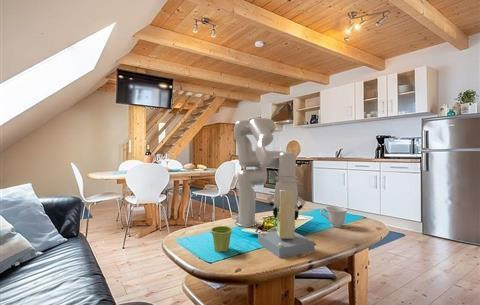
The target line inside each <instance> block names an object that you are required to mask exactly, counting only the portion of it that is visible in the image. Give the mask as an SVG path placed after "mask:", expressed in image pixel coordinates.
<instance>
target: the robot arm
mask: <svg viewBox="0 0 480 305" xmlns="http://www.w3.org/2000/svg"><path fill="white" fill-rule="evenodd" d="M276 128H277V127H276V123H275V121H274V120H273V119H272V118H266V117H265V118H264V117H263V118H262V117H254V118H252V119H241V120H237V121H236V122H235V124H234V127H233V135H234V139H235V141H236V146H237V157H238V163H239V165H240V167H242V168H244V169H242V170H240V171H238V174H237V183H238V215H236V214H232V216H231V218H232V220H236V221H235V225H236V226H238V227H243V228H251V227H250V226H253V225H255V224H257V225H258V220H257V221H256V192H255V190H254V188H253V187H254V186H264V185H265V184H266V183H267V181H268V172H267V171H268V170H267V168H278V175H276V176H275V177H274V179H275V180H277V181H276V183H275V186H274V194H273V195H271V196H270V197H268V198H267V199H266V200H267V201H268V203H269V205H270V207H271V208H272V210H273V212H272V216H274V219H275V218H276V219H277V205H280V204H278V195H280V190H288V191H294V193H295V194H294V197H293V206H295V221H297V219H298V218H299V211H300V210H301V209H302V208H303V207H304V206H305V205H306V203H307V202H306V201H305V200H304V199H303V198H301V197H300V196H299V195H298V194H299V193H298V192H299V191H298V185H297V184H298V183H297V182H296V172H297V171H296V168H297V167H296V163H297V162H296V161H297V155H296V153H295V152H293V151H292V152H288V151H283V150H282V151H279V150H278V151H277V150H267V149H266V147H267V146H268V145H270V144H271V143H273V140H274V135H273V134H274V132H275V131H276ZM248 136H253V137H254V138H255V140H256V144H255V150H253V145H252V144H253V143H252V141H251V139H250V138H249V137H248ZM245 168H247V169H245ZM254 168H255V169H254ZM272 200H273V201H272ZM298 202H300V204H299V205H298Z"/></svg>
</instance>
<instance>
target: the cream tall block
mask: <svg viewBox="0 0 480 305" xmlns="http://www.w3.org/2000/svg"><path fill="white" fill-rule="evenodd" d="M294 194H295V193H294V191H288V190H280V195H278V204H280V205H277V206H276V207H277V217H276V231H277V234H278V236H279V238H288V239H294V232H295V225H296V224H295V223H296V222H295V221H296V220H295V206H293V197H294Z"/></svg>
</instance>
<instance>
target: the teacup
mask: <svg viewBox="0 0 480 305" xmlns="http://www.w3.org/2000/svg"><path fill="white" fill-rule="evenodd" d="M323 211H324V213H326V215H325V214H324V213H323ZM348 211H349V210H348V209H347V208H345V207H341V206H334V205H333V206H326V207H325V208H324V207H321V209H320V211H319V212H320V215H321V216H323V217H324V218H326V219H327V221H328V223H329V224H330V226H331V227H333V228H342V225H343V224H345V221H346V215H347V212H348Z"/></svg>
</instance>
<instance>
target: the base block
mask: <svg viewBox="0 0 480 305" xmlns="http://www.w3.org/2000/svg"><path fill="white" fill-rule="evenodd" d="M257 243H258V244H260V245H261V246H262V247H263V248H265V249H266V250H268V251H269V252H270V253H272V254H273V255H274V256H276V257H277V258H279V259H281V258H285V257H291V256H296V255H302V254H306V253H308V254H309V253H311V252H312V253H313V252H315V241H313V240H312V238H311V237H310V238H309V237H308V238H307V237H306V236H304V235H301V234H299V233H298V232H295V231H294V239H288V238H279V236H278V234H277V230H276V231H270V232H264V231H261V232H260V233H257Z"/></svg>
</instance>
